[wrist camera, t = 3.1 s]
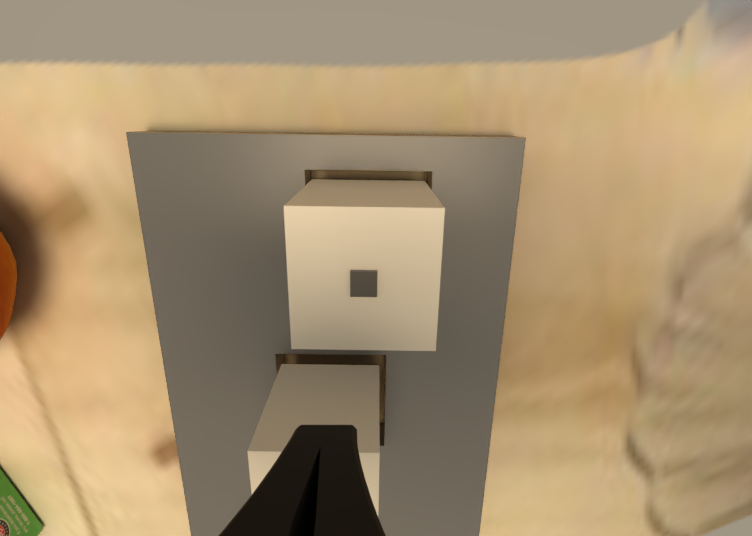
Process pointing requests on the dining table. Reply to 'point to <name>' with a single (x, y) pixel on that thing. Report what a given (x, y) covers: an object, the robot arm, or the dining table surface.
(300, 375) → the key two
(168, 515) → the dining table surface
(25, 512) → the ink box
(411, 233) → the key one
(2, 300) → the fruit
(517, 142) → the keypad board
